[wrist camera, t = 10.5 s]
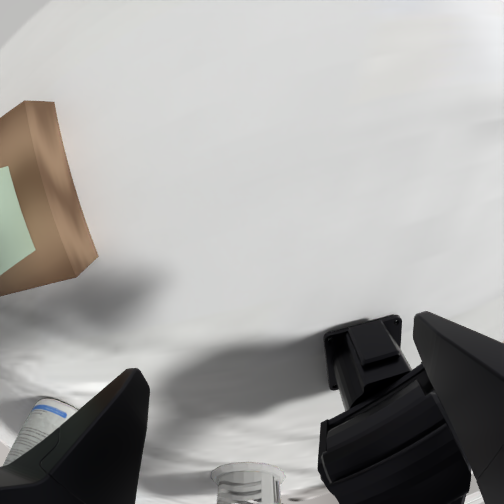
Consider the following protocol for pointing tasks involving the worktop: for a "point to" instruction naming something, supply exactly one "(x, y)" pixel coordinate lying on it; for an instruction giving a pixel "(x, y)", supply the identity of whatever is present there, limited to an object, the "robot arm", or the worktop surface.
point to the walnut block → (43, 199)
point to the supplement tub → (39, 426)
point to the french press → (248, 483)
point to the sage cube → (11, 225)
